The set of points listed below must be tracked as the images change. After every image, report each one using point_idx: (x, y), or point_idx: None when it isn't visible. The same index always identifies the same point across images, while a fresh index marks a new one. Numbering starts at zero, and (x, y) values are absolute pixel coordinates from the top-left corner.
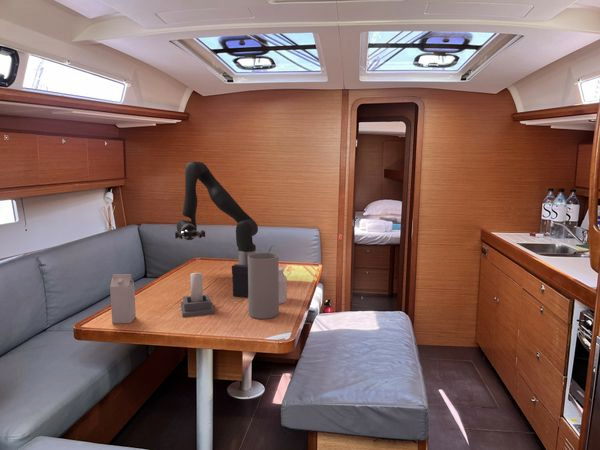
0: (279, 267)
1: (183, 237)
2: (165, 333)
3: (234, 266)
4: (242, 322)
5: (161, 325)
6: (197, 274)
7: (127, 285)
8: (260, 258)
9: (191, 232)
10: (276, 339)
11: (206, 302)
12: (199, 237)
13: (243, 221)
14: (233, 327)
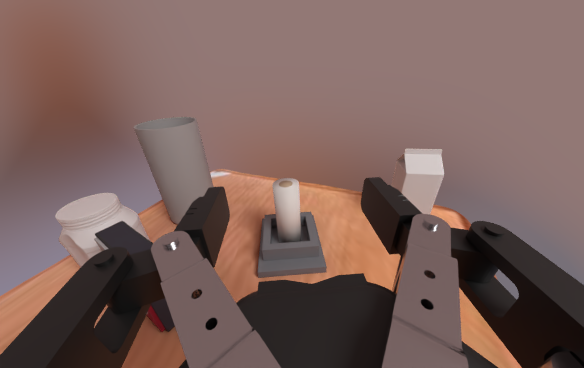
0: (63, 211)
1: (392, 289)
2: (326, 187)
3: (152, 243)
4: (235, 197)
5: (337, 202)
6: (283, 182)
7: (400, 159)
8: (156, 140)
9: (290, 286)
10: (222, 171)
11: (273, 214)
12: (227, 214)
13: None
14: (250, 190)
